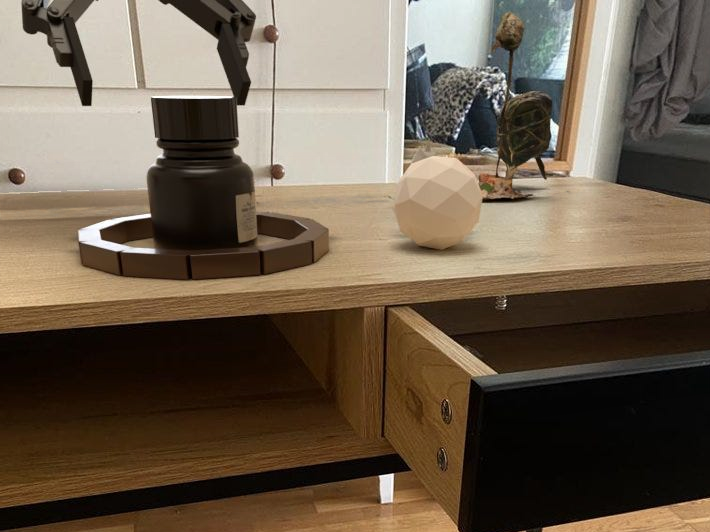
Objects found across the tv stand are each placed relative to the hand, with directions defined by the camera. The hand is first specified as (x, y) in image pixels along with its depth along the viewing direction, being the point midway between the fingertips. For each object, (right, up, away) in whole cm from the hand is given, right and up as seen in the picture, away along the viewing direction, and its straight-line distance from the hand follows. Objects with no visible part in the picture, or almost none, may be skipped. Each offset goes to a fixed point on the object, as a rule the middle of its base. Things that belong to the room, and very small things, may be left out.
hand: (169, 94), depth 65 cm
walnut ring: (+3, -13, +1) cm, 13 cm away
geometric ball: (+23, -12, +4) cm, 26 cm away
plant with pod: (+35, +3, +31) cm, 47 cm away
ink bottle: (+3, -13, +1) cm, 14 cm away
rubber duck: (+23, -5, +18) cm, 29 cm away
